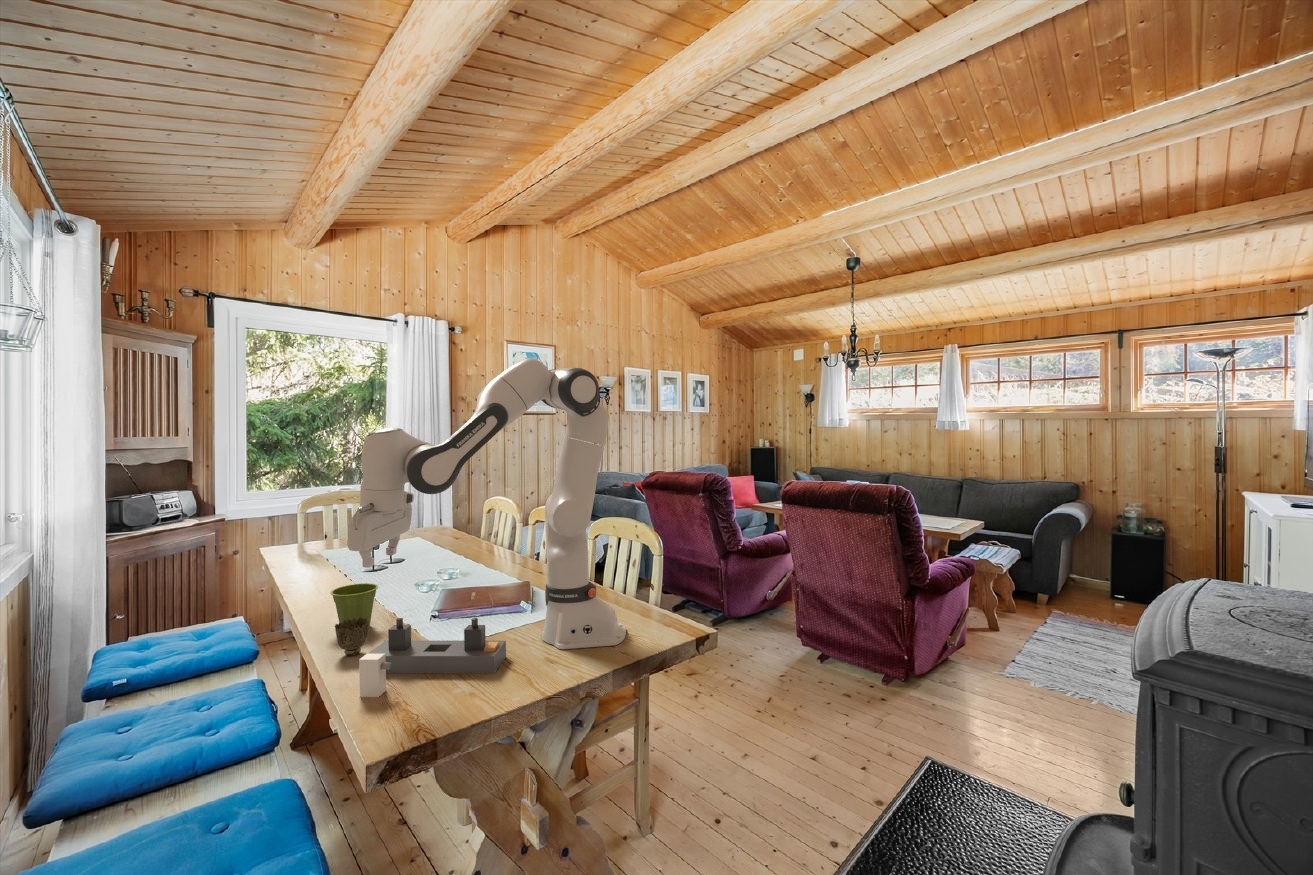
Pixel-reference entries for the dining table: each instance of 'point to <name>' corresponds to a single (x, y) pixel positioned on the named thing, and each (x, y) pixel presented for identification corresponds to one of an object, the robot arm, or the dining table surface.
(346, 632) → the cup
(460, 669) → the power strip
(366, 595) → the plant pot
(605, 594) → the dining table surface
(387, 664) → the plug
